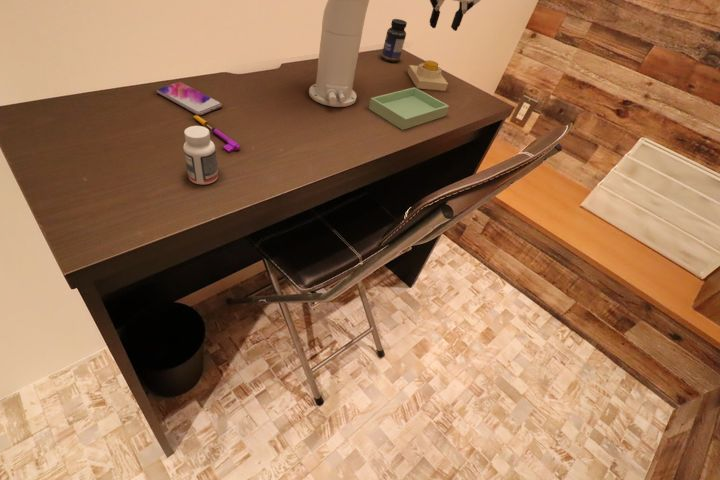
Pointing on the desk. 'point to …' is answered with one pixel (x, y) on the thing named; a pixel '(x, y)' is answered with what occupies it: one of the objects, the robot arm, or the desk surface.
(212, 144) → the pill bottle
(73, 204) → the desk surface
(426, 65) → the button
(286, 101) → the desk surface
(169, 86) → the smartphone
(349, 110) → the desk surface
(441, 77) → the box
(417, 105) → the tray
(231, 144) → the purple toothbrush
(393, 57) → the pill bottle
